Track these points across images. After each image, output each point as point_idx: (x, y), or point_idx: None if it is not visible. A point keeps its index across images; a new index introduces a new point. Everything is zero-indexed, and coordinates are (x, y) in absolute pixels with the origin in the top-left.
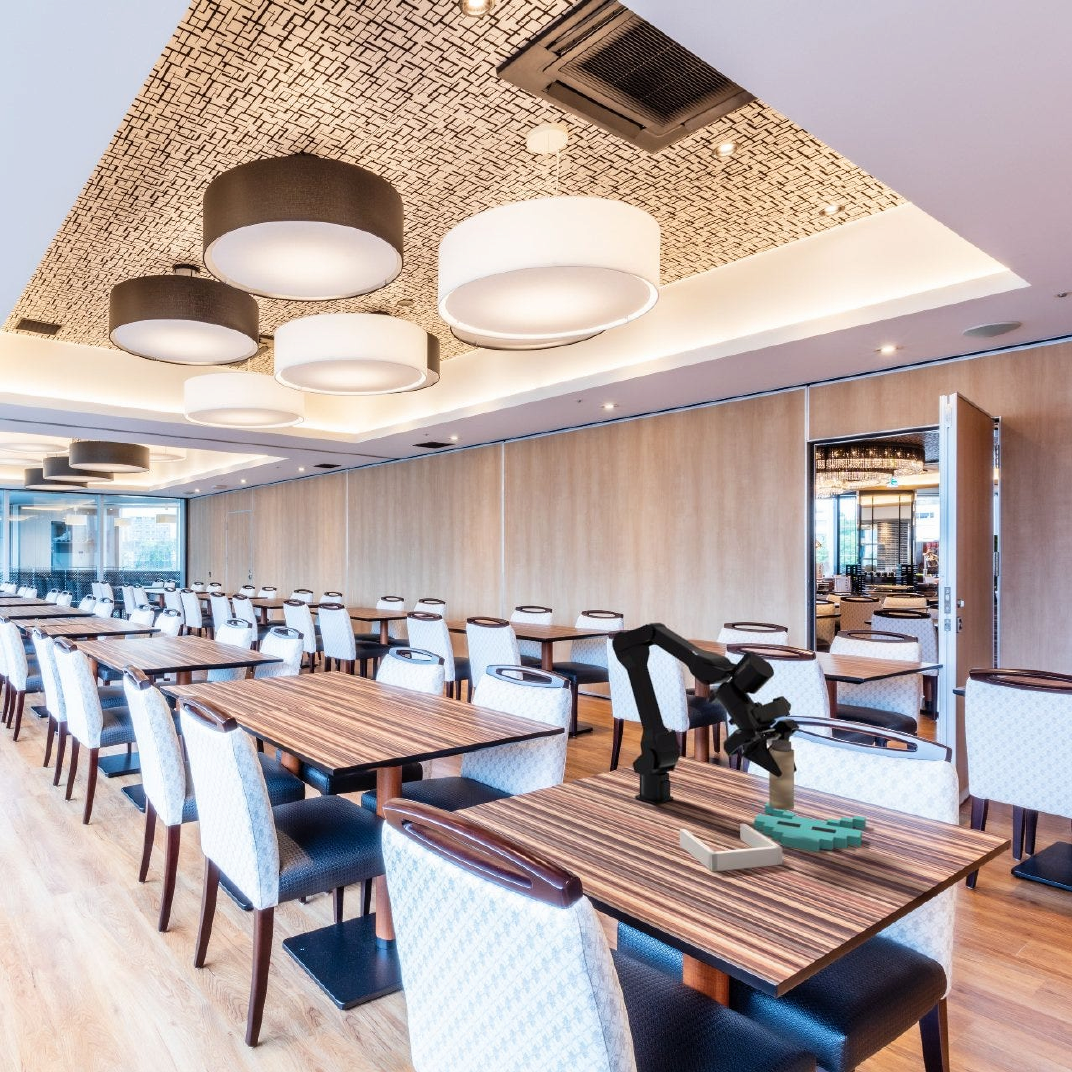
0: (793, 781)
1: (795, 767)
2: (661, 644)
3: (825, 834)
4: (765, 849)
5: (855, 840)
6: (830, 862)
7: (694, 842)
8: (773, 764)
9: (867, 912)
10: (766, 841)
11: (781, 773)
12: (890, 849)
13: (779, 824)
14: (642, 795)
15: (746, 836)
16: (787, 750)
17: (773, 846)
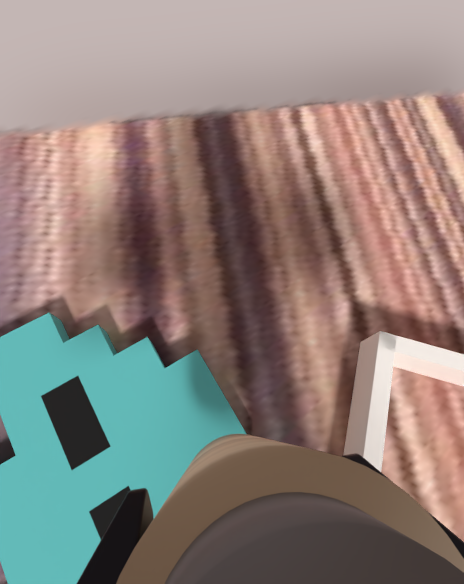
0: (217, 444)
1: (132, 504)
2: None
3: (113, 385)
4: (436, 347)
5: (59, 325)
6: (233, 290)
7: None
8: (445, 528)
9: (367, 121)
10: (388, 396)
11: (353, 455)
12: (11, 267)
13: None
14: None
15: None
16: (331, 496)
17: (400, 349)
